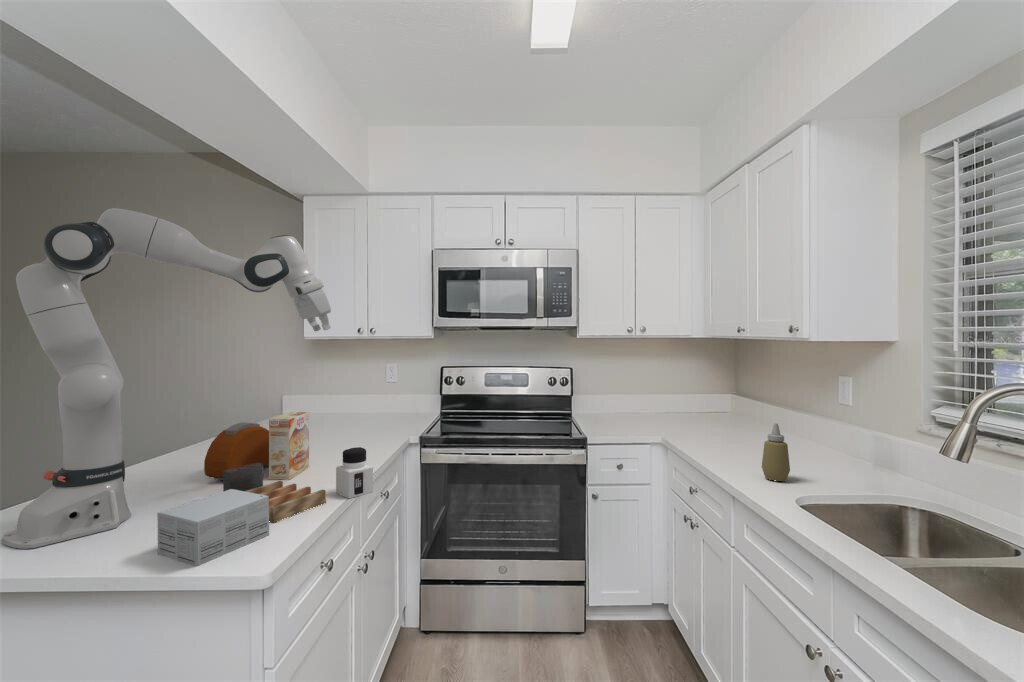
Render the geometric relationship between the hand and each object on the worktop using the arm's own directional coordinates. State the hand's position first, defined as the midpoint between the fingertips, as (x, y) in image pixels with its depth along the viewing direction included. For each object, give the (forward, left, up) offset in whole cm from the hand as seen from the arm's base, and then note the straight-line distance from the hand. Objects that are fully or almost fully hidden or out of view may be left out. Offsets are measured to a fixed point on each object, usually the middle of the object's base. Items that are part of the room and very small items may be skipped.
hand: (322, 330), depth 149 cm
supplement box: (-42, -14, -48) cm, 65 cm away
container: (-2, -15, -48) cm, 50 cm away
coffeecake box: (+4, +19, -48) cm, 52 cm away
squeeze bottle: (+71, -125, -48) cm, 151 cm away
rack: (-19, -5, -48) cm, 52 cm away
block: (-17, +12, -48) cm, 52 cm away
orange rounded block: (-3, +33, -48) cm, 58 cm away
